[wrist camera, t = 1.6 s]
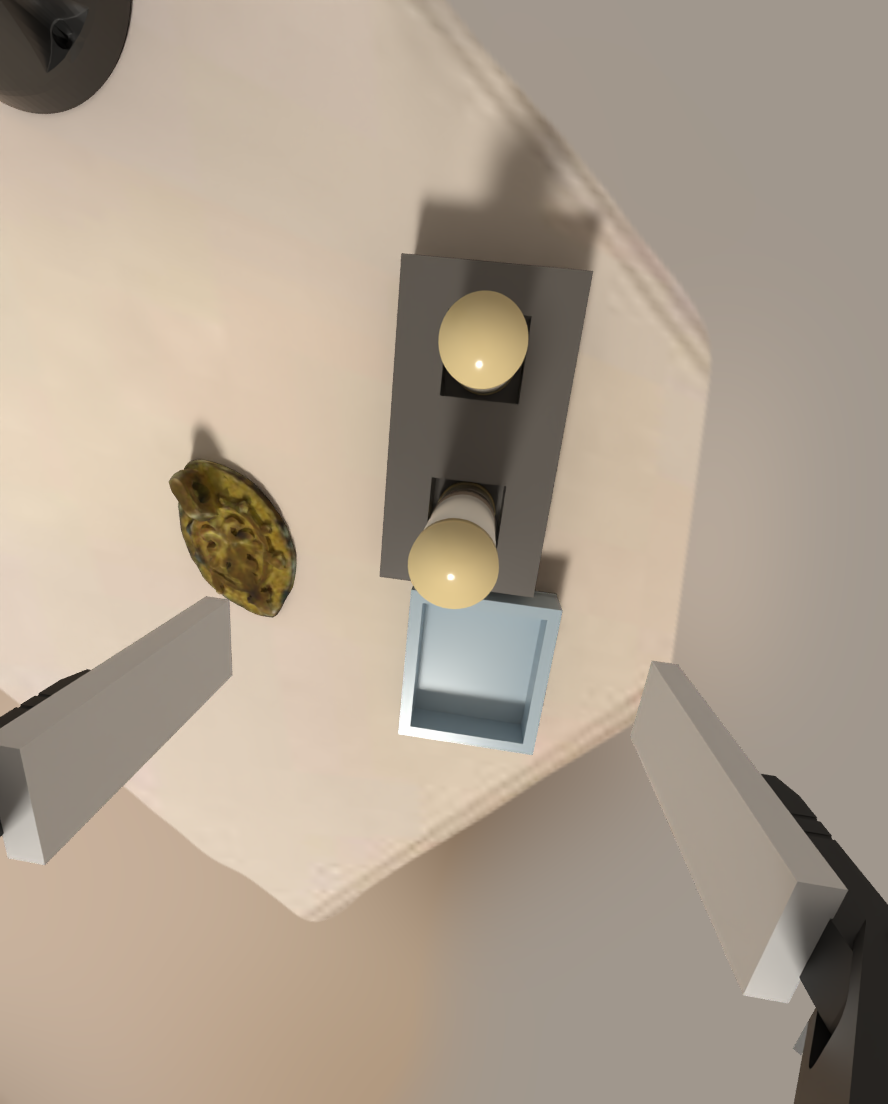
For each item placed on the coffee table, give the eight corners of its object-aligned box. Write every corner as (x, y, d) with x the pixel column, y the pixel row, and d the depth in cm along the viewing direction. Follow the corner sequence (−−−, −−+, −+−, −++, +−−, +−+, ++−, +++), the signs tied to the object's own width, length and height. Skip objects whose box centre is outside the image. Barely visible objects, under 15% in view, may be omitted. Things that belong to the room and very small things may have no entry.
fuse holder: (411, 272, 32) (401, 253, 28) (580, 288, 31) (593, 271, 28) (390, 560, 39) (379, 576, 35) (528, 579, 38) (533, 597, 34)
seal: (327, 589, 42) (243, 438, 38) (314, 608, 37) (217, 439, 34) (241, 627, 43) (150, 484, 39) (217, 651, 38) (112, 491, 34)
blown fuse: (440, 477, 35) (411, 516, 22) (498, 484, 35) (505, 528, 22) (434, 533, 37) (404, 602, 23) (490, 540, 36) (492, 614, 23)
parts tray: (417, 575, 39) (411, 589, 36) (556, 593, 38) (562, 610, 35) (404, 710, 43) (398, 734, 40) (529, 729, 43) (532, 755, 39)
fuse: (456, 324, 32) (443, 286, 22) (521, 330, 32) (535, 295, 22) (449, 392, 33) (434, 383, 24) (511, 398, 33) (520, 393, 24)
